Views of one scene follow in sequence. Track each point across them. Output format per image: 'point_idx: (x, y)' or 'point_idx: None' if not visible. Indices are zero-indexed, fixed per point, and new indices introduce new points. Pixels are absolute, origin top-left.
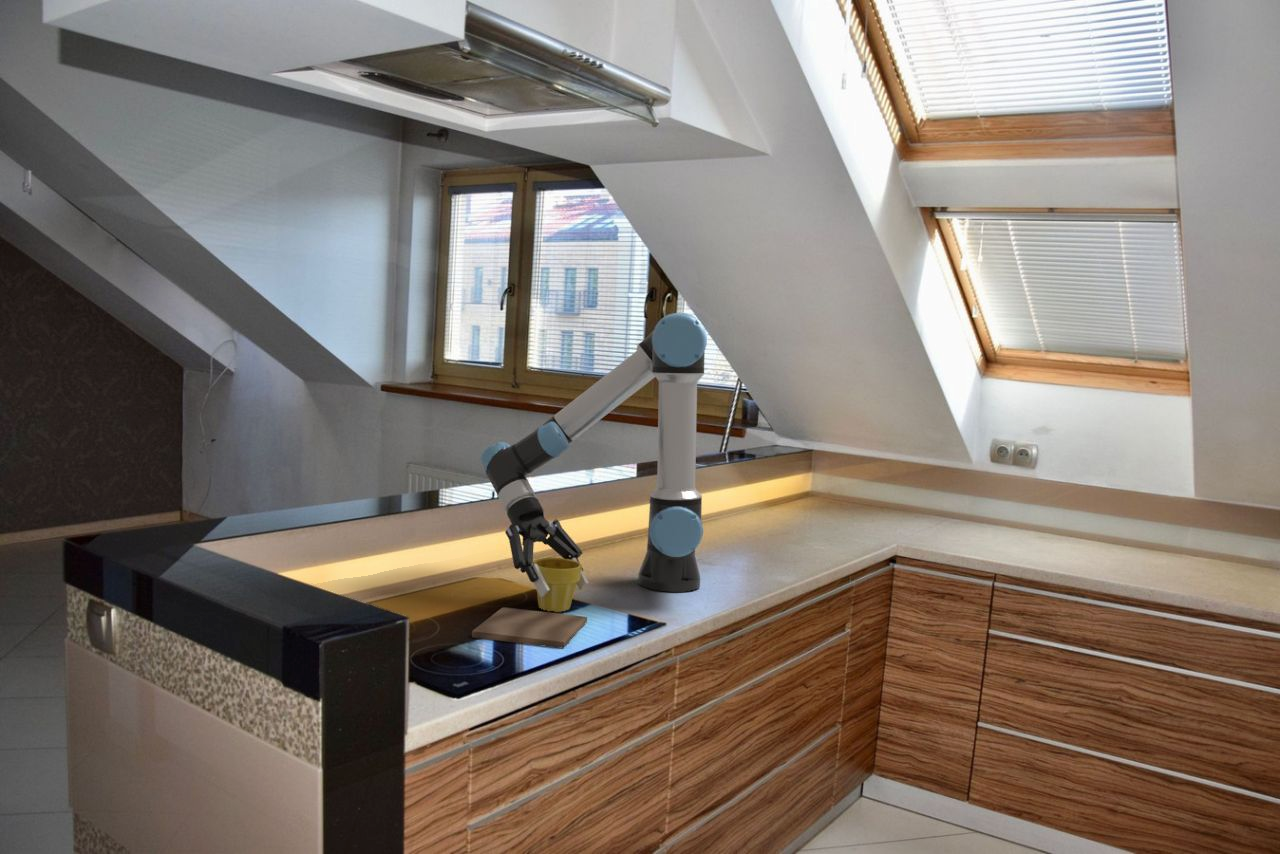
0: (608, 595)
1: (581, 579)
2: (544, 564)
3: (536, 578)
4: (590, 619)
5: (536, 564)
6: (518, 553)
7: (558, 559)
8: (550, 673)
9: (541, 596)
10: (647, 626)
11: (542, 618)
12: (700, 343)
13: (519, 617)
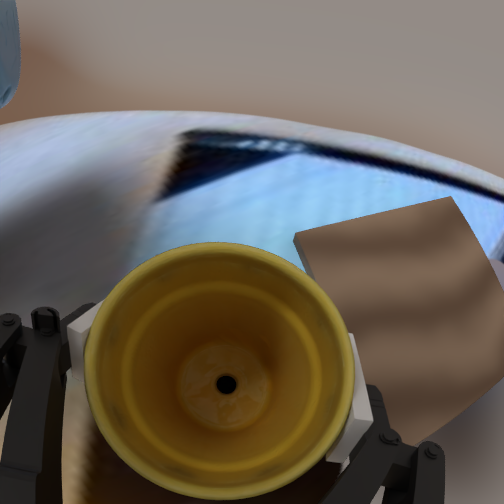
0: (24, 314)
1: None
2: (173, 470)
3: (367, 385)
4: (260, 247)
5: (358, 414)
6: (444, 488)
7: (105, 415)
8: (497, 181)
9: None
10: (225, 144)
11: (393, 310)
12: None
13: (426, 359)
